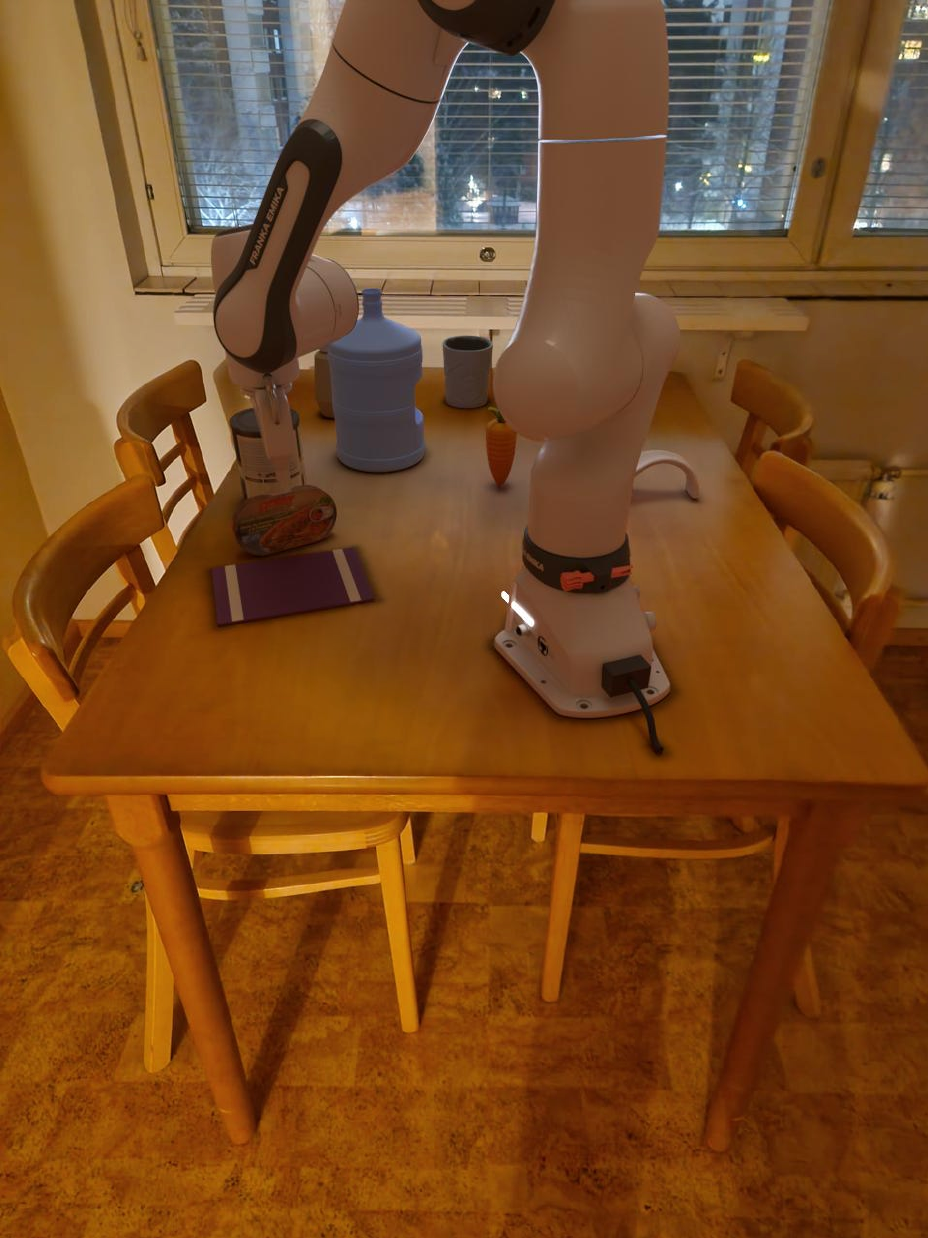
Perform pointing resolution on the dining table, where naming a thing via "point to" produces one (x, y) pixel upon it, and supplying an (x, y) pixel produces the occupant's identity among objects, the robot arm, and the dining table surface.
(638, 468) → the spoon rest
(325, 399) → the squeeze bottle
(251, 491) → the coffee can
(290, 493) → the tin
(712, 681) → the dining table surface
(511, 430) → the carrot
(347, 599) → the cloth
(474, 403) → the grey cup
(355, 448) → the water jug
